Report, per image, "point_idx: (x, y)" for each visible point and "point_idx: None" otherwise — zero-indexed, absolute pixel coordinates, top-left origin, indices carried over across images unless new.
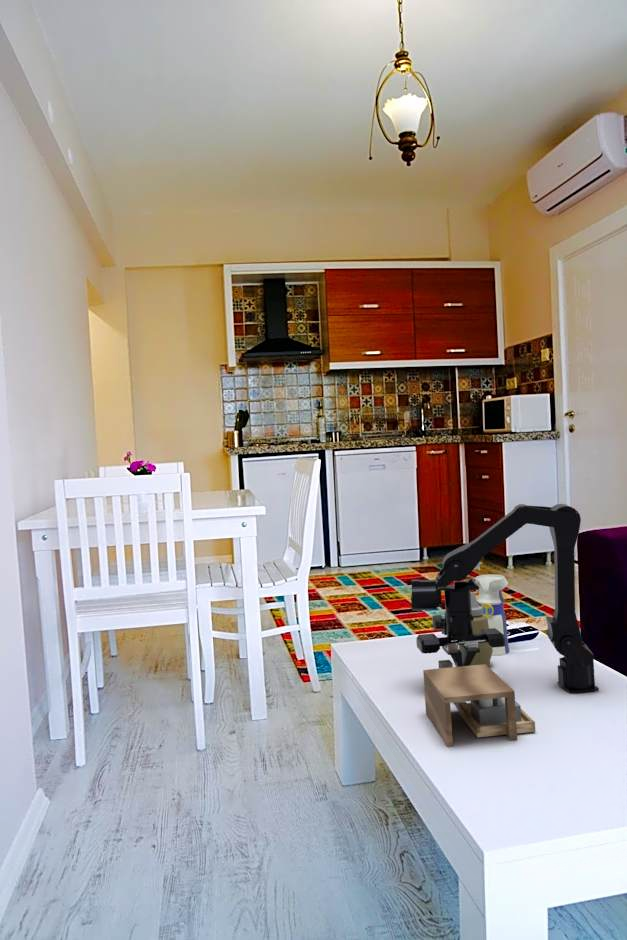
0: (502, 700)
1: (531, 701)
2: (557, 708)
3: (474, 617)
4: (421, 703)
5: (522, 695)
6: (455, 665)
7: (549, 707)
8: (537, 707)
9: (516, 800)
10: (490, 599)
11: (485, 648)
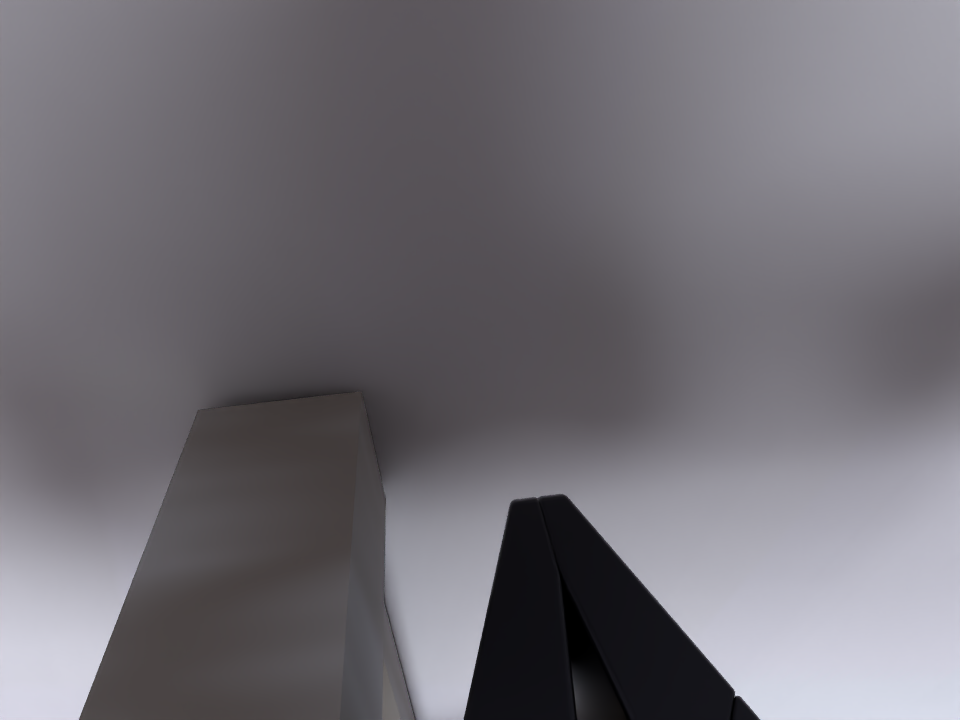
0: None
1: (909, 656)
2: (956, 717)
3: None
4: (37, 683)
5: (942, 583)
6: (469, 705)
7: (929, 710)
8: (869, 711)
9: None
10: None
11: None
